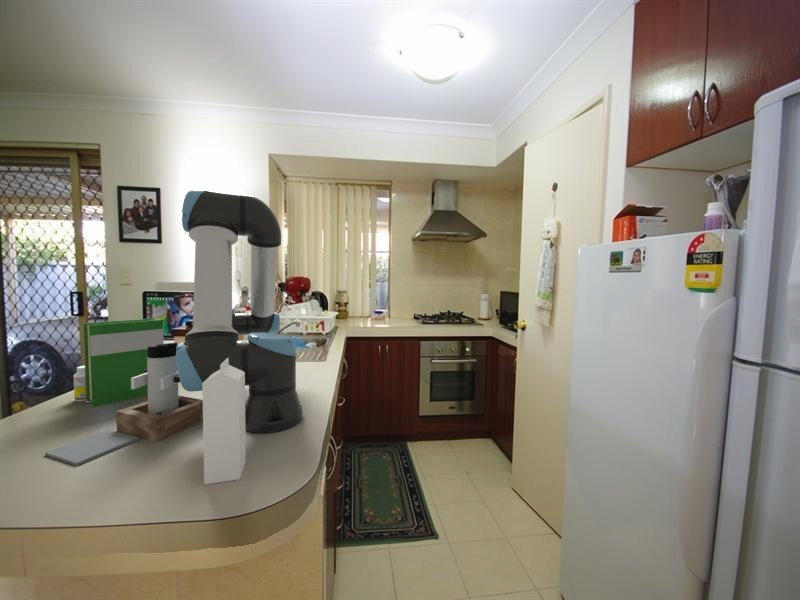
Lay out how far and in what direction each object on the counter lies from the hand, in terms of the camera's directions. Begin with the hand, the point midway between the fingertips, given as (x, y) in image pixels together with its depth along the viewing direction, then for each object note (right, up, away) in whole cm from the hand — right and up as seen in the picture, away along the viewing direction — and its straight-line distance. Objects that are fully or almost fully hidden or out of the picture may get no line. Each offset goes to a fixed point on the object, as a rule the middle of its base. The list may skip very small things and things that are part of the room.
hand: (147, 383), depth 75 cm
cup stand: (0, -12, +6) cm, 13 cm away
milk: (+27, -14, -14) cm, 33 cm away
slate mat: (-7, -13, -6) cm, 16 cm away
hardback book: (-27, -11, +25) cm, 38 cm away
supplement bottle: (-37, -11, +22) cm, 44 cm away
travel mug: (0, -11, +6) cm, 12 cm away
